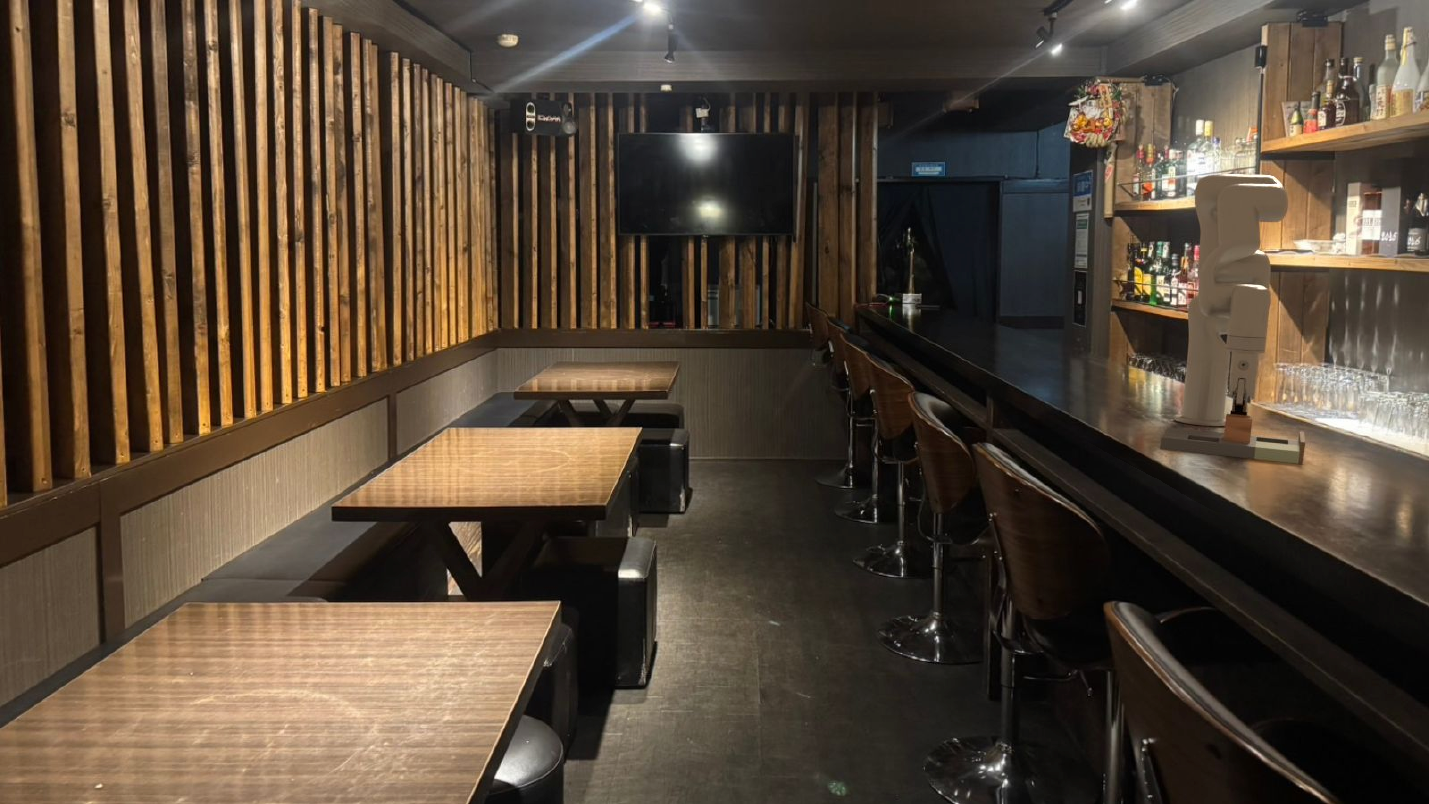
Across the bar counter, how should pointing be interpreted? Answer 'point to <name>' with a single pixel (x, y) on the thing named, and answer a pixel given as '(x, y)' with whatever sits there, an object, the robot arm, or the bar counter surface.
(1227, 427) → the block
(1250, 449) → the deck
